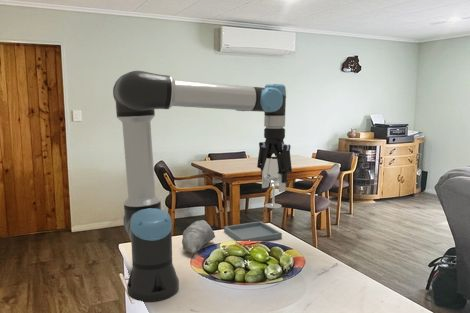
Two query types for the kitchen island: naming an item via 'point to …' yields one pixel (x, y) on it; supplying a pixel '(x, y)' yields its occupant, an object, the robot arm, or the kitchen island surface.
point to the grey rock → (197, 236)
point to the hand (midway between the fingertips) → (273, 189)
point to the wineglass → (272, 177)
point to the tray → (252, 232)
